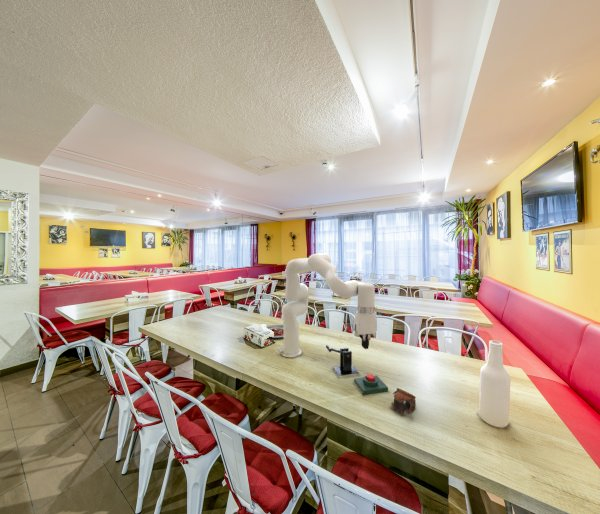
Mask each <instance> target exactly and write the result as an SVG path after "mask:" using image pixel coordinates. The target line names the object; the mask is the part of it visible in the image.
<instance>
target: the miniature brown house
mask: <svg viewBox="0 0 600 514" xmlns="http://www.w3.org/2000/svg"><path fill="white" fill-rule="evenodd" d="M392 395H393V401H392V402H391V403H390V408H391V409H392V410H393V411H394V412H395V413H397V414H399V415H400V416H404V415H405V413H406V414H407V415H411V414H412V413H414V412H415V410H416V406H417V405H416V404H417V403H416V398H417V397H416V395H413V394H412V393H409V392H408V391H405V390H403V389H401V388H398V387H396V390H395V391H393V393H392Z"/></svg>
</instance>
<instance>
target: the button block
mask: <svg viewBox="0 0 600 514" xmlns="http://www.w3.org/2000/svg"><path fill="white" fill-rule="evenodd" d="M374 376H375V381H373V382H371V381H368V380H367V374H366V375H364V376H362V377H354V378H353V381H354V383H355V384H356V385H357V387H358V388H359V389H360V391H361V392H362V393H361V394H362V396H370V395H375V394H376V395H377V394H383V393H388V392H389V386H388V385H386V384H385V382H384V381H383V380H382V379H381V378H380V377H379V376H378V375H374Z"/></svg>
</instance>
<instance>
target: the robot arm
mask: <svg viewBox="0 0 600 514" xmlns="http://www.w3.org/2000/svg"><path fill="white" fill-rule="evenodd" d="M337 271H338V268H337V266H336V265H334V264H333V263H332V259H331V257H330V255H328V254H327V253H313V254H310V255H309V256H308V257H300V258H293V259H291V260H289V261H288V262H287V264H286V266H285V278H286V279H285V292H284V294H285V298H286V300H287V301H289V302H286V303H284V304H283V305H282V307H281V316H282V323H283V324H282V325H283V329H284V337H283V344H282V346H280V347H279V346H277V347H275V351H277V352H278V353H281V356H283V357H285V358H288V359H289V358H290V359H291V358H293V359H294V358H297V357H299V356H301V355H302V353H303V350H302V349H301V348H300V324H299V320H298V319H297V318H298V317H301V316H303V315H305V314H306V313H307V312H308V307H309V298H310V290H309V287H308V286H307V285H306V284H305V283H301V276H300V274H303V273H312V272H316V273H317V274H318V275H320V276H321V277H322V278H323V279H324V280H325V282H326V284H327V287H328V289H330V291H332V292H333V293H334V294H336V295H337V296H339V297H340V298H342V299H349V298H353V297H357V311H355V314H354V318H353V332H354V337H357V338H360V339H361V347H362V349H364V350H369V346H370V341H371V339H372V337H374V336H376V335H377V332H378V320H377V314H376V310H377V309H378V307H377V306H375V302H376V301H375V298H376V297H375V294H376V291H375V290H376V287H375V284H373V283H371V282H362V281H359V280H356V279H355V280H349V281H344V280H343V279H341V278H340V277H339V276H337V275H336V274H337Z"/></svg>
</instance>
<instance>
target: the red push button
mask: <svg viewBox="0 0 600 514" xmlns="http://www.w3.org/2000/svg"><path fill="white" fill-rule="evenodd" d="M366 375H367V380H368V381H371V382H373V381H375V376H376V375H374V374H371V373H368V374H366Z"/></svg>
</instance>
